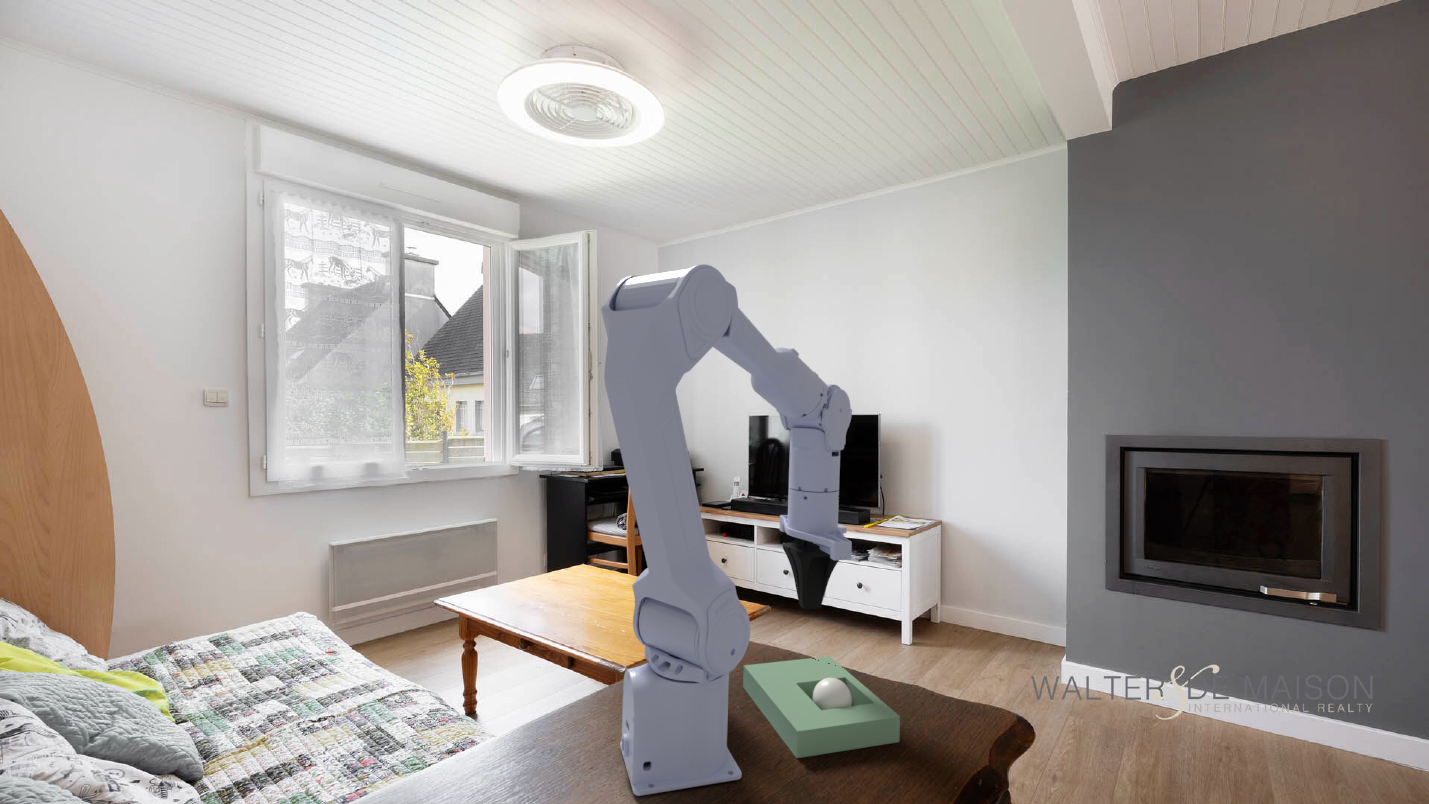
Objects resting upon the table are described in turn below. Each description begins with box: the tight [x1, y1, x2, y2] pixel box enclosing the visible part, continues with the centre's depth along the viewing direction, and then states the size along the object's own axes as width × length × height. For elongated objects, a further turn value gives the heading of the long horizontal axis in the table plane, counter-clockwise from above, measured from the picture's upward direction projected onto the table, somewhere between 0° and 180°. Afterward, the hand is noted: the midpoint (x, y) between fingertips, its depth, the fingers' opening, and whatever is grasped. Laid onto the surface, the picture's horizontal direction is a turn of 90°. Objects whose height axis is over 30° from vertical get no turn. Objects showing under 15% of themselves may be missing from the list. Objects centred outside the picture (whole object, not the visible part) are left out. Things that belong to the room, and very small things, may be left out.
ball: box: [813, 678, 852, 710], centre depth 64 cm, size 4×4×4 cm
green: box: [742, 655, 901, 759], centre depth 66 cm, size 11×14×2 cm
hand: (810, 607), depth 71 cm, fingers closed
